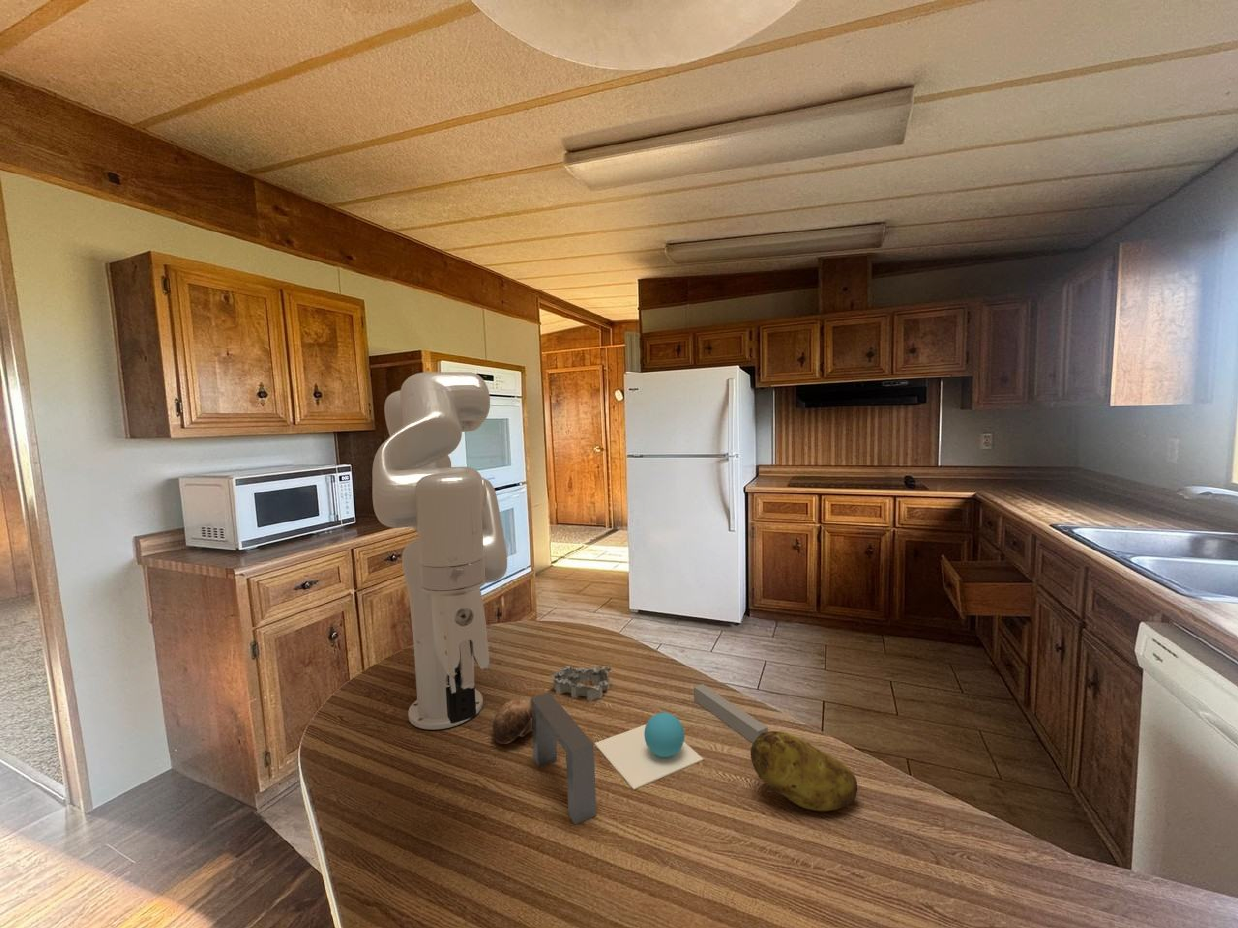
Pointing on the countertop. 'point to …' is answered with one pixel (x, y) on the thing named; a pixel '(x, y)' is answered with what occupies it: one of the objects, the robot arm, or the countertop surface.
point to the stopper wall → (729, 713)
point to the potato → (802, 772)
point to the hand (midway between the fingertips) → (461, 716)
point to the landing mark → (643, 758)
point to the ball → (664, 734)
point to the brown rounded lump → (512, 720)
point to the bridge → (579, 749)
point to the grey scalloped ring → (572, 677)
